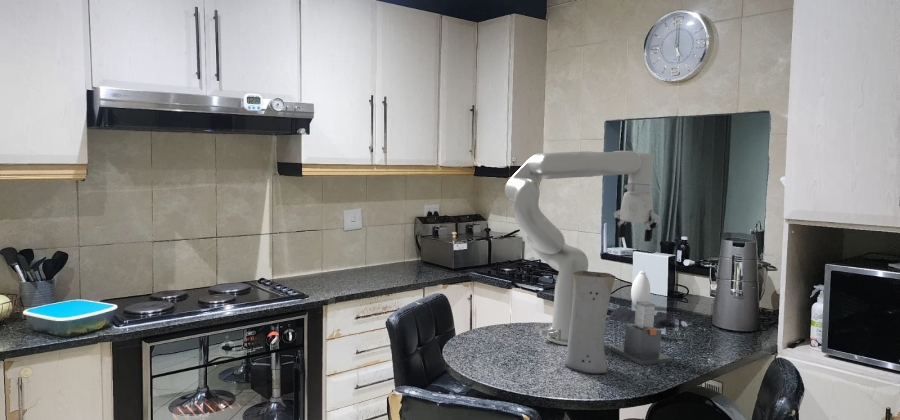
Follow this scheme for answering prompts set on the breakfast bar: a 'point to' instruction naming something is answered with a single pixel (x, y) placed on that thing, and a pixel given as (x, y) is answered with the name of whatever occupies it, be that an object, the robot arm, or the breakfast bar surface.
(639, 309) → the column
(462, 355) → the breakfast bar surface
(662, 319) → the dark slate chunk
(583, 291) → the vase
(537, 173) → the robot arm
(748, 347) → the breakfast bar surface
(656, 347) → the stand
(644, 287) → the white ovoid piece
